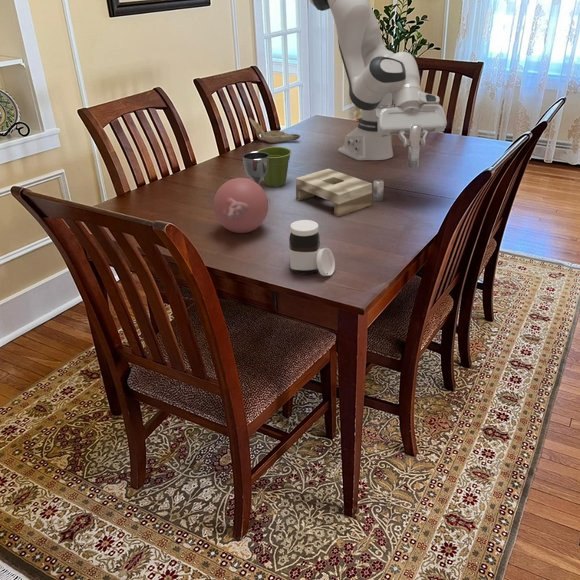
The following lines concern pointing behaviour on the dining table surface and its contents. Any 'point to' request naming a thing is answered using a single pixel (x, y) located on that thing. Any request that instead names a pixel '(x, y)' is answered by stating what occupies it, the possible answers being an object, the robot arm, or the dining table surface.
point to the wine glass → (256, 165)
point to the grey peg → (414, 145)
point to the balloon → (240, 205)
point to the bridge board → (336, 190)
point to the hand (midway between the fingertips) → (414, 145)
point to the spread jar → (309, 249)
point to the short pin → (378, 190)
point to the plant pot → (276, 165)
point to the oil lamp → (273, 134)
